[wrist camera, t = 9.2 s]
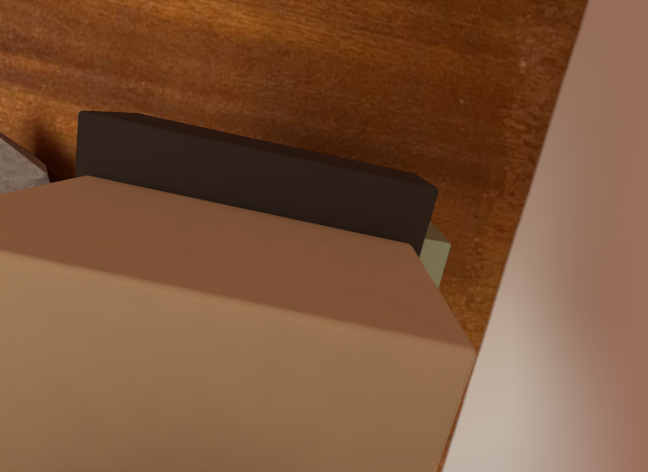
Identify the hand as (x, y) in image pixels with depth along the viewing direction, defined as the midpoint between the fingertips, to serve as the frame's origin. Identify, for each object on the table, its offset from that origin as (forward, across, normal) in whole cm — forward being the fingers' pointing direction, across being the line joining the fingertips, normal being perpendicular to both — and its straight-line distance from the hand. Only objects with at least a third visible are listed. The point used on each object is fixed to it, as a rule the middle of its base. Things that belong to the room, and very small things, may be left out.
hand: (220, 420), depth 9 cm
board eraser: (+1, 0, +1) cm, 2 cm away
